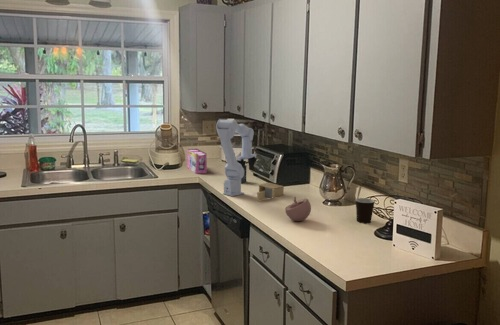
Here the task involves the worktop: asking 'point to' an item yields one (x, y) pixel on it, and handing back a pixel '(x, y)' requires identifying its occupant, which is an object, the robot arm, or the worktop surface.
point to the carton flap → (265, 194)
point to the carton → (277, 188)
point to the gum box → (196, 161)
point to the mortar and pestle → (298, 210)
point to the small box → (244, 176)
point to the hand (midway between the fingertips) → (246, 171)
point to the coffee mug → (364, 209)
